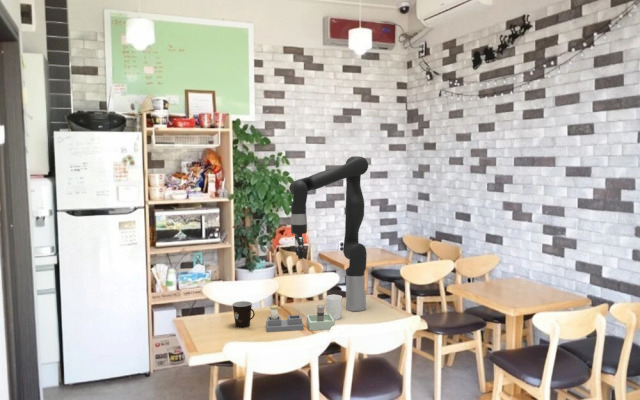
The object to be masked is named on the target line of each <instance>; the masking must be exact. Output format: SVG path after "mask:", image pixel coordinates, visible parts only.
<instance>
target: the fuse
mask: <svg viewBox="0 0 640 400" xmlns="http://www.w3.org/2000/svg"><path fill="white" fill-rule="evenodd" d="M269 308H270V317H271V320H278V316H279V313H278V309H279V306H278V305H277V304H271V305H270V306H269Z"/></svg>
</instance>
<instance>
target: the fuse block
mask: <svg viewBox="0 0 640 400" xmlns="http://www.w3.org/2000/svg"><path fill="white" fill-rule="evenodd" d="M266 319H267V320H265V328H266V333H274V332H290V331H292V332H293V331H304V330H305V329H304V328H305V326H304V322H303V318H302V315H301V314H293V315H292V314H290V315H287V319H282V317H281V315H278V320H271V316H267V318H266Z"/></svg>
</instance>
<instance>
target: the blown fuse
mask: <svg viewBox="0 0 640 400" xmlns="http://www.w3.org/2000/svg"><path fill="white" fill-rule="evenodd" d="M324 314H325V305H323V304H318V305H316V315H317V322H320V321H324Z"/></svg>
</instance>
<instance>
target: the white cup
mask: <svg viewBox="0 0 640 400" xmlns="http://www.w3.org/2000/svg"><path fill="white" fill-rule="evenodd" d="M324 298H325V301H324V302H325V312H326V314H331V316H332V317H333V319H334V321H336V320H339V319H341V318H342V310H343V309H342V308H343V296H342V295H339V294H329V295H326V296H325V297H324Z"/></svg>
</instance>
